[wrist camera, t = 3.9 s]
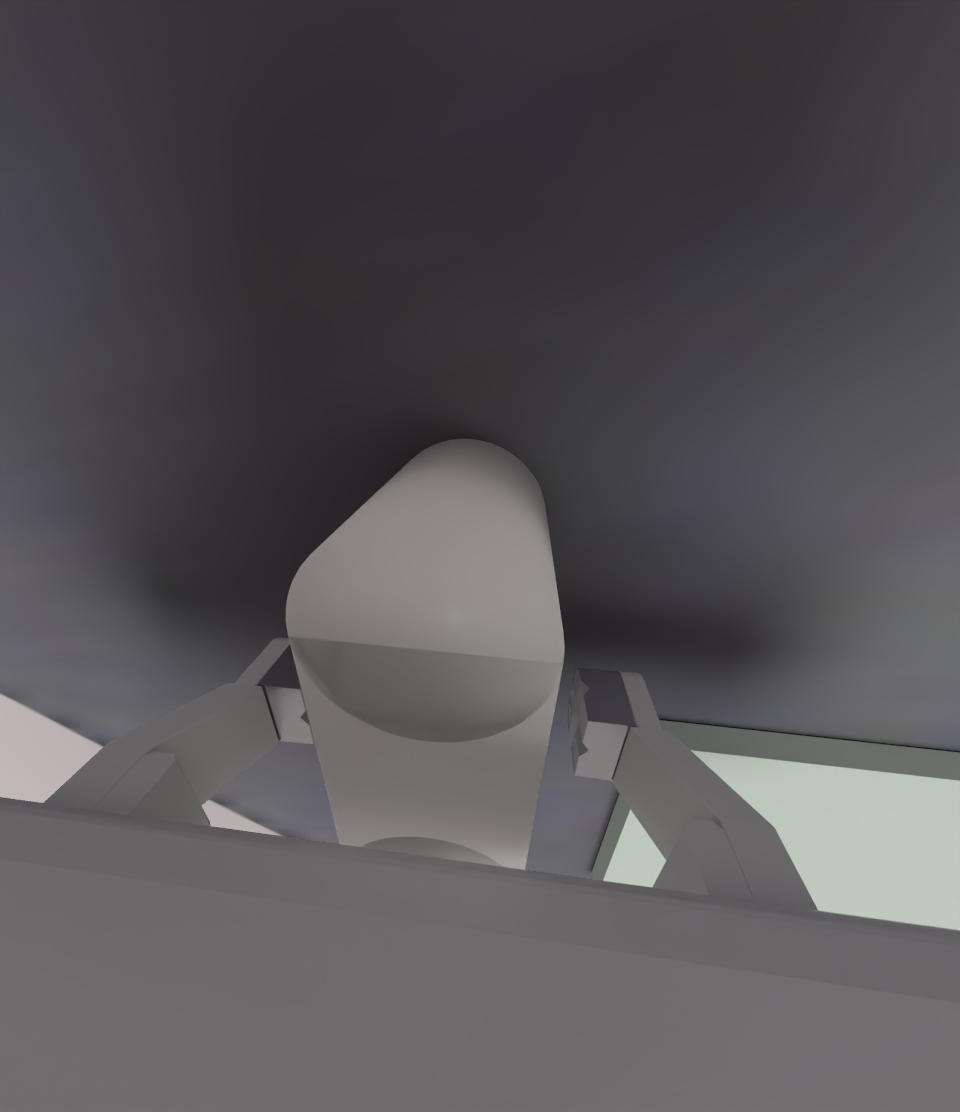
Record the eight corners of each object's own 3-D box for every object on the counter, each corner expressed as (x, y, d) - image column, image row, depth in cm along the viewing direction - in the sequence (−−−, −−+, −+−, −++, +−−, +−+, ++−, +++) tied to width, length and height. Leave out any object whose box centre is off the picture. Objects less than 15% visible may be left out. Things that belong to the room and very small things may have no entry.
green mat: (645, 718, 12) (654, 746, 12) (1125, 770, 12) (1174, 804, 11) (591, 872, 17) (595, 900, 16) (929, 918, 16) (952, 950, 15)
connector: (385, 433, 9) (257, 508, 5) (555, 444, 9) (587, 533, 4) (411, 788, 16) (367, 958, 11) (509, 800, 15) (504, 979, 11)
